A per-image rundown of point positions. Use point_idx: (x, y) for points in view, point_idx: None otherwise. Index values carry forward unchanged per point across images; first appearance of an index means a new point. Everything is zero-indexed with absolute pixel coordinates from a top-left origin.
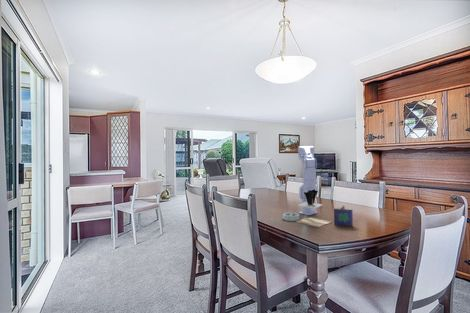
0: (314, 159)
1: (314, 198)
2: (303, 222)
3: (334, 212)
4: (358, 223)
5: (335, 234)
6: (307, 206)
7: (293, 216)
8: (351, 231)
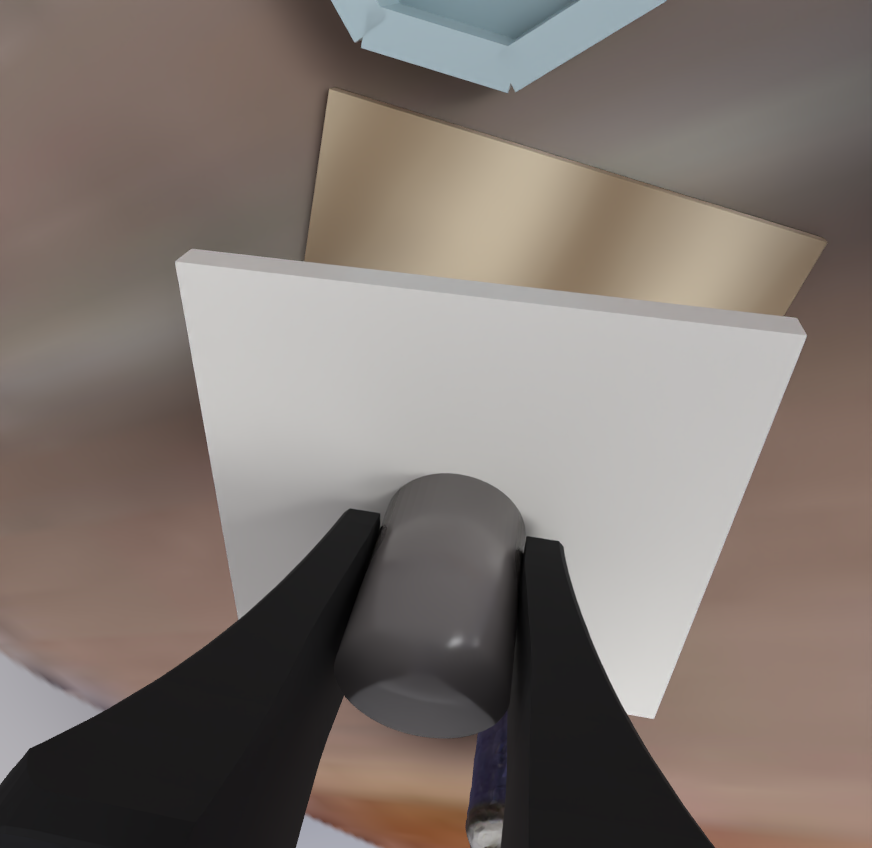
0: None
1: (508, 754)
2: (346, 243)
3: (484, 762)
4: (714, 777)
5: (176, 631)
6: (223, 502)
7: (335, 2)
8: (363, 723)
